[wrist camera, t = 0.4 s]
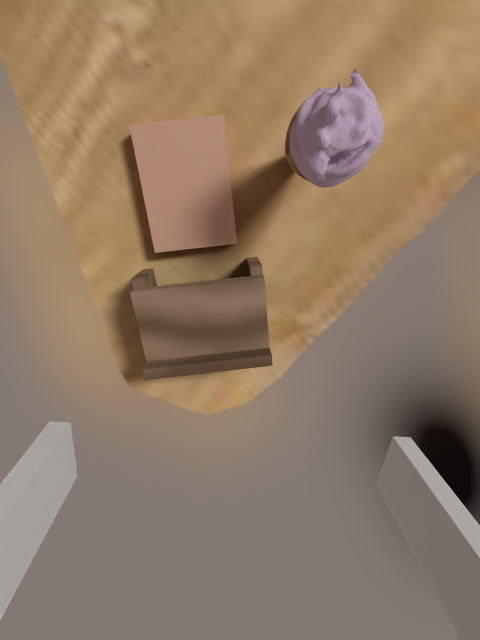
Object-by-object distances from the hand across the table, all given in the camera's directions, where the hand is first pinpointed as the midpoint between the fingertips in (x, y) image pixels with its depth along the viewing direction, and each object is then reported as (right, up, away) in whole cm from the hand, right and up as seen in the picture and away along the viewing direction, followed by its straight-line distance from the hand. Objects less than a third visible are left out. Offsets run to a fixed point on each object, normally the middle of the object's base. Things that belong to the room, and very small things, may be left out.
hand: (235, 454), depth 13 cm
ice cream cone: (+6, +23, +20) cm, 31 cm away
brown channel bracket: (-4, +8, +25) cm, 26 cm away
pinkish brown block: (-5, +20, +21) cm, 29 cm away
